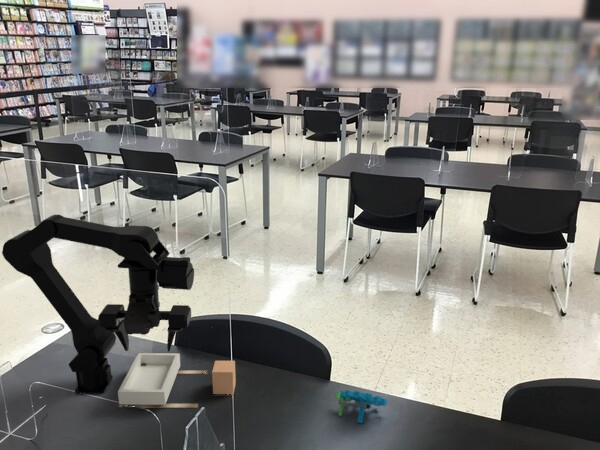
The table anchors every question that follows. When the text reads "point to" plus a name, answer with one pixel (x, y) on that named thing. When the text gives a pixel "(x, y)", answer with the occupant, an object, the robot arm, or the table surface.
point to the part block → (224, 377)
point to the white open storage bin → (149, 379)
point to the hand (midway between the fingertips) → (148, 350)
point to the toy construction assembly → (358, 401)
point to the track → (172, 404)
